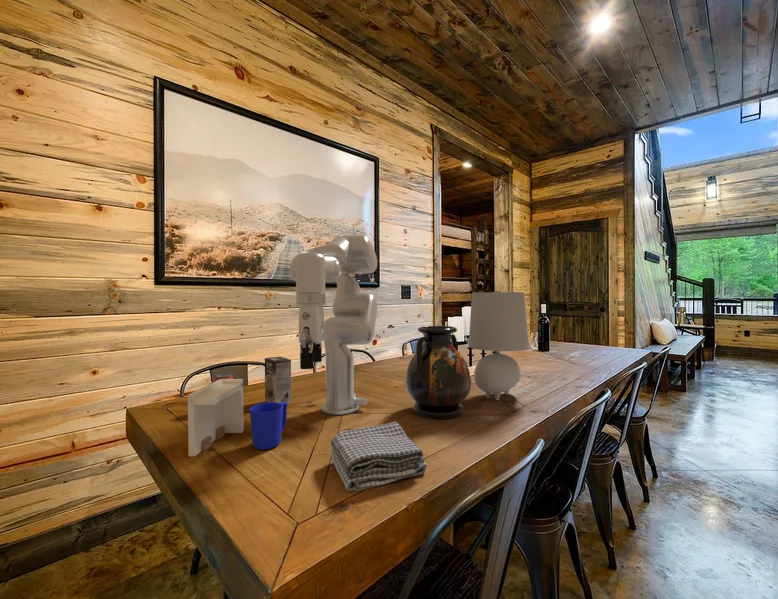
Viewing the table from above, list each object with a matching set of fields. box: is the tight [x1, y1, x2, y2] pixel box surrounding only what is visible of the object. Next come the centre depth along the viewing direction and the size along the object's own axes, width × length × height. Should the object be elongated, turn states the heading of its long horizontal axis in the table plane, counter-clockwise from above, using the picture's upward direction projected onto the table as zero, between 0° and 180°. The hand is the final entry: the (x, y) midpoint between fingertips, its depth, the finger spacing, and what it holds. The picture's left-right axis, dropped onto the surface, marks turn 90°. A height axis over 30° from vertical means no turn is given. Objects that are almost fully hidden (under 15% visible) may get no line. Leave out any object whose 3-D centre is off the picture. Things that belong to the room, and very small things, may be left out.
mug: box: [249, 402, 288, 450], centre depth 92 cm, size 8×12×10 cm
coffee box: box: [264, 356, 292, 405], centre depth 127 cm, size 9×6×16 cm
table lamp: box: [468, 290, 530, 401], centre depth 131 cm, size 23×22×40 cm
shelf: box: [187, 378, 245, 457], centre depth 92 cm, size 6×16×15 cm, turn 179°
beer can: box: [212, 372, 235, 383], centre depth 120 cm, size 7×7×12 cm
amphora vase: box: [404, 325, 472, 420], centre depth 116 cm, size 22×22×28 cm
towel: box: [330, 421, 427, 493], centre depth 77 cm, size 15×18×8 cm
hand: (311, 365), depth 92 cm, fingers open, 9 cm apart
